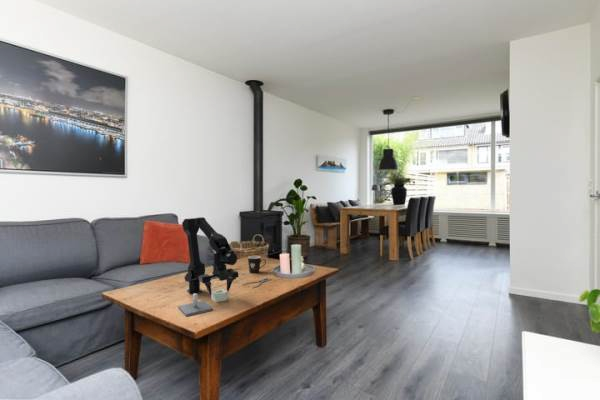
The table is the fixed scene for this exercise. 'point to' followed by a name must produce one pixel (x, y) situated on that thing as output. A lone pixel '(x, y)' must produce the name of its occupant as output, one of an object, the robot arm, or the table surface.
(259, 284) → the pliers
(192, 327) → the table surface
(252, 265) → the coffee mug
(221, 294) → the hollow square sleeve
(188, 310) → the post stand
